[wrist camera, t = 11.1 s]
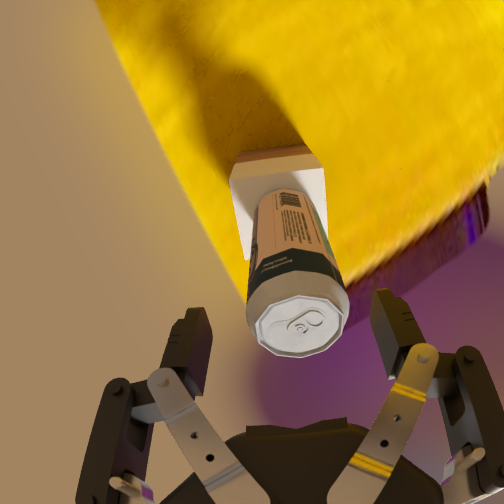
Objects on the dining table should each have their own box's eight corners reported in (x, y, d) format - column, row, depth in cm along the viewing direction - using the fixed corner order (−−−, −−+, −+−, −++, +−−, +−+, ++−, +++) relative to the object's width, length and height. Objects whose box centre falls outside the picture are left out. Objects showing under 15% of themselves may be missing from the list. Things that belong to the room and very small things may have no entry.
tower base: (239, 152, 30) (234, 164, 26) (305, 143, 29) (312, 153, 25) (250, 212, 34) (247, 232, 29) (311, 204, 33) (318, 223, 28)
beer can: (240, 213, 23) (221, 327, 12) (287, 172, 21) (310, 264, 11) (282, 252, 24) (291, 374, 14) (327, 217, 23) (372, 329, 12)
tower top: (234, 163, 26) (228, 180, 21) (312, 153, 25) (323, 167, 21) (247, 232, 29) (244, 260, 25) (318, 223, 28) (328, 250, 24)
